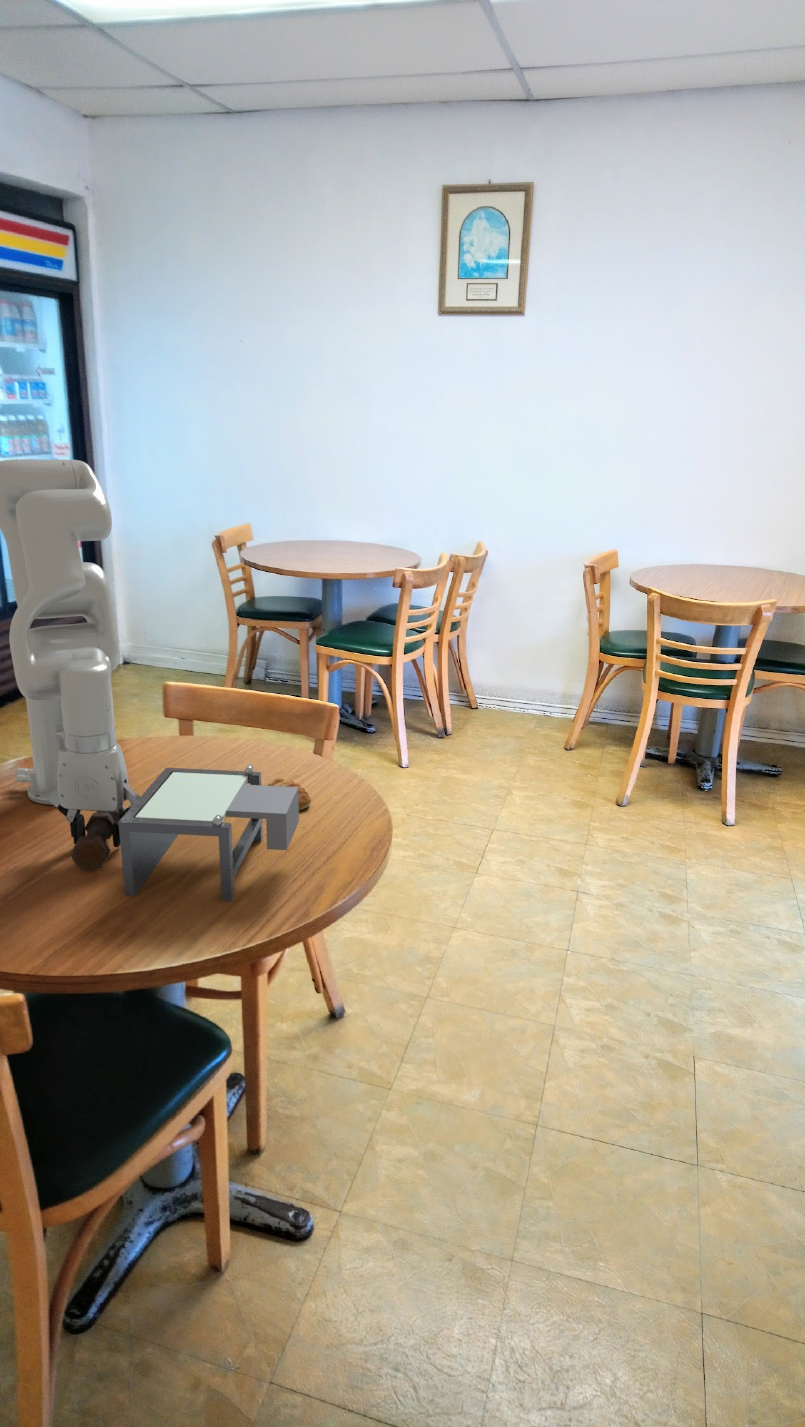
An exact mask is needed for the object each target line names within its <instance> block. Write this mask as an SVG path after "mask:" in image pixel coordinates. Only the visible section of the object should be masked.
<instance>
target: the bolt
mask: <svg viewBox="0 0 805 1427" xmlns="http://www.w3.org/2000/svg"><path fill="white" fill-rule="evenodd" d="M113 824H114V820H113V818H112V816H111V814H110V812H101V811H95V812H92V814H91V816H90V817H89V819H88V821H87V822H86V824H85V831H86V836H81V837H79V839H78V841H77V843H76V845H75V844H74V847H73V848H72V850H71V852H70V854H69V856H70V857H71V859H72V861H73V862H74V864H75V865H76V866H77V867H78V868H79V869H81V870H84V871H85V870H87V871H93V870H99V869H102V868H103V866H104V865H105V863H106V860H107V858H108V857H109V855H110V853H111V848H109V846H108V845H107V840H110V839H111V837H113V836H112V825H113Z"/></svg>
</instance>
